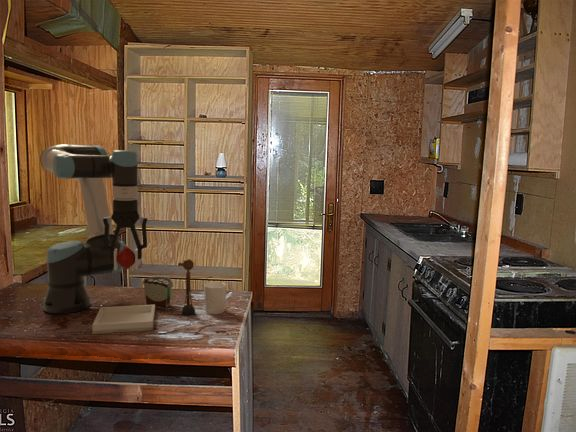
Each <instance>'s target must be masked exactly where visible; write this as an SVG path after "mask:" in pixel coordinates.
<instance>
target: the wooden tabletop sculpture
mask: <svg viewBox="0 0 576 432" xmlns="http://www.w3.org/2000/svg"><path fill="white" fill-rule="evenodd" d="M177 266H178V267H179V266H180V267H182V268H183V269H185V270H186V272H185V280H186V281H185V299H184V300H185V301H184V306H183V307H182V309H181V316H183V317H192V316H193V317H194V315H196V310H195V307H194V306H193V302H192V293H191V273H192V272H191V271H192V269H193V268H194V266H195V264H194V261H193V260H192V259H189V258H187V259H186V258H185V260H183V262H178V264H177Z"/></svg>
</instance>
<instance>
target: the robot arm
mask: <svg viewBox="0 0 576 432" xmlns="http://www.w3.org/2000/svg"><path fill="white" fill-rule="evenodd" d="M106 150H107V149H105V148H104V147H103V146H101V145H94V144H87V145H86V144H69V143H68V144H67V143H61V144H55V145H51V146H48V147H47V148H44V150H42V152H41V154H40V156H39V162H40V165H41V166H42V167H43V169H44V170H45V171H47V172H49V173H52V174H54V176H55V177H56V178H57V179H66V180H67V179H68V180H69V179H75V180H76V181H77V182H79V183H80V189H81V190H80V191H81V196H82V202H83V206H84V212H85V217H86V218H85V219H86V224H87V229H88V235H89V237H88V238H87V239H86V240H85V244H84V243H83V242H82V241H81V240H68V241H64V242H60V243H56V244H52V246H50V247H49V248H48V249H47V252H46V264H47V282H48V287H47V291H46V295H45V297H44V301H43V311H45V312H46V313H49V314H57V315H59V314H60V315H61V314H63V315H64V314H72V313H76V312H79V311H80V312H81V311H83V310H85V309H87V308H89V307H90V306H91V297H90V295H89V292H88V290H87V287H86V285H85V277H91V276H98V275H99V276H100V275H105V274H106V275H107V274H113V273H119V272H121V271H123V269H124V268H123V267H122V266H120V265H119V264H118V262H117V255H118V253H119V252H120V251H121V250H122V249H124V246H127V245H126V242H125V241H123V240H120V238H119V234H120V232H121V229H124V228H128V229H130V231H131V234H132V236H133V240H134V243H135V245H136V248H135V250H134V254H135V263H134V266H135V267H134V268H135V269H134V270H137V271H138V270H139V260H141V259H142V255H143V252H142V250H143V249H145V248H148V235H147V222H148V217H146V216H141V215H140V214H139V205H138V204H139V202H138V201H139V200H137V198H138V194H139V193H138V190H139V188H138V163H139V161H138V154H137V152H136V151H135V150H128V149H127V150H126V149H125V150H124V149H123V150H122V149H119V150H118V149H113V151H112V153H111V154H108V151H106ZM104 179H112V180H111V181H112V198H113V200H112V214H111V212H110V208H109V203H108V197H107V196H108V195H107V192H106V185H105V181H104ZM112 221H113V222H114V224H115V225H116V228H115V231H114V229H113V223H112ZM138 221H139V223H140V224H141V233H142V234H141V235H142V244H141V240H140V237H139V234H138V232H137V228H136V223H137V222H138Z"/></svg>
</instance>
